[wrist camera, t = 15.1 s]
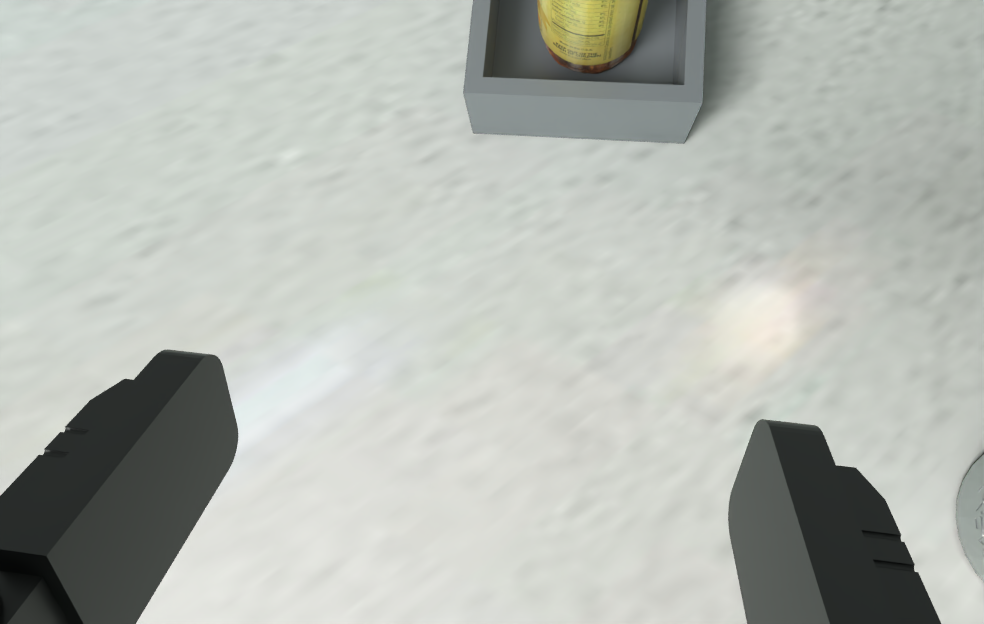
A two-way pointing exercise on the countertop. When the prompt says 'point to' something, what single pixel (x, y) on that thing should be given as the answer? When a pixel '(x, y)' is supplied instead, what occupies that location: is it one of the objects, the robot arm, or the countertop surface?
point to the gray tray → (585, 77)
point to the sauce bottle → (590, 31)
